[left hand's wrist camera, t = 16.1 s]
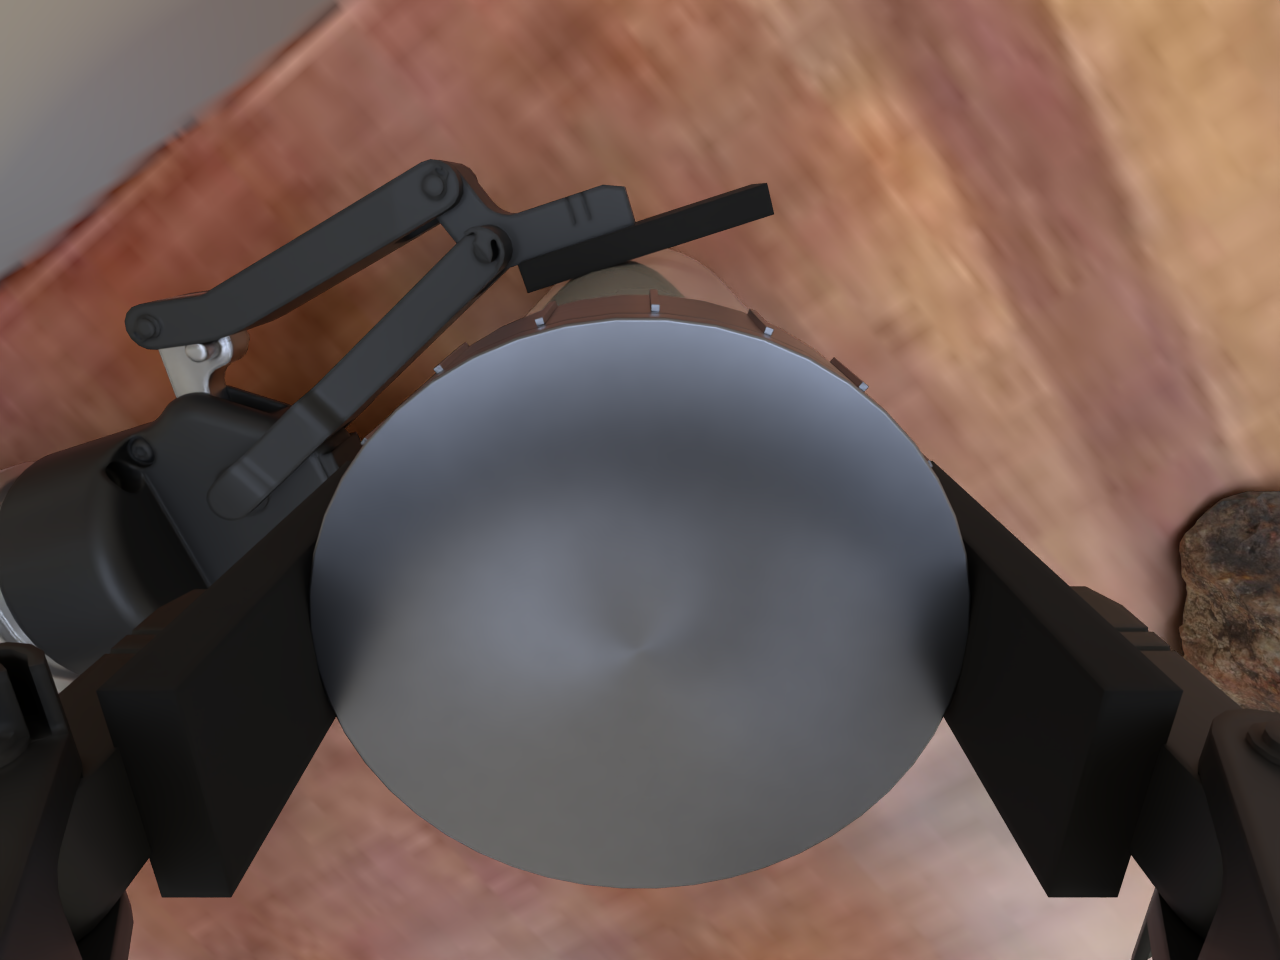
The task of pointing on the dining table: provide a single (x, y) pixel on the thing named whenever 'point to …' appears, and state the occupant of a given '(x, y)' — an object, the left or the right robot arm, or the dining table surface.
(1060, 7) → the dining table surface
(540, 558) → the lid
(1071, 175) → the dining table surface
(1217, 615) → the rock
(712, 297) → the jar
